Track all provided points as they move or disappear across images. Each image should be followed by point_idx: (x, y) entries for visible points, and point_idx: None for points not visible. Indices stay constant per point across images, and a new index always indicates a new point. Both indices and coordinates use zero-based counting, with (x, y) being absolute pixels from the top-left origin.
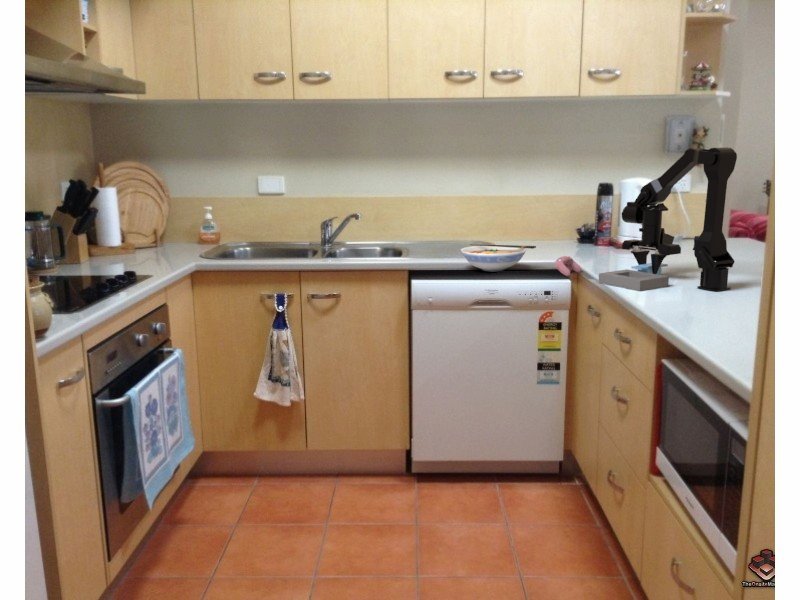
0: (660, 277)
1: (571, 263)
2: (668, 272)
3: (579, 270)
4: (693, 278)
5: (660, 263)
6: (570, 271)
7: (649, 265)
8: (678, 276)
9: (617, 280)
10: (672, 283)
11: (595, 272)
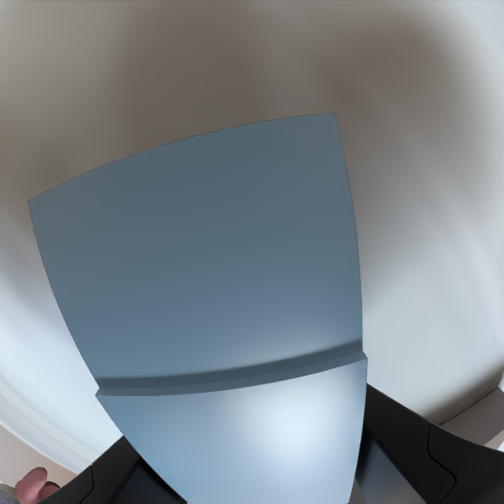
0: (499, 444)
1: (38, 498)
2: (106, 22)
3: (46, 476)
4: (465, 66)
5: (442, 440)
6: (57, 487)
7: (309, 493)
8: (359, 68)
9: None
10: (496, 338)
11: (39, 447)
